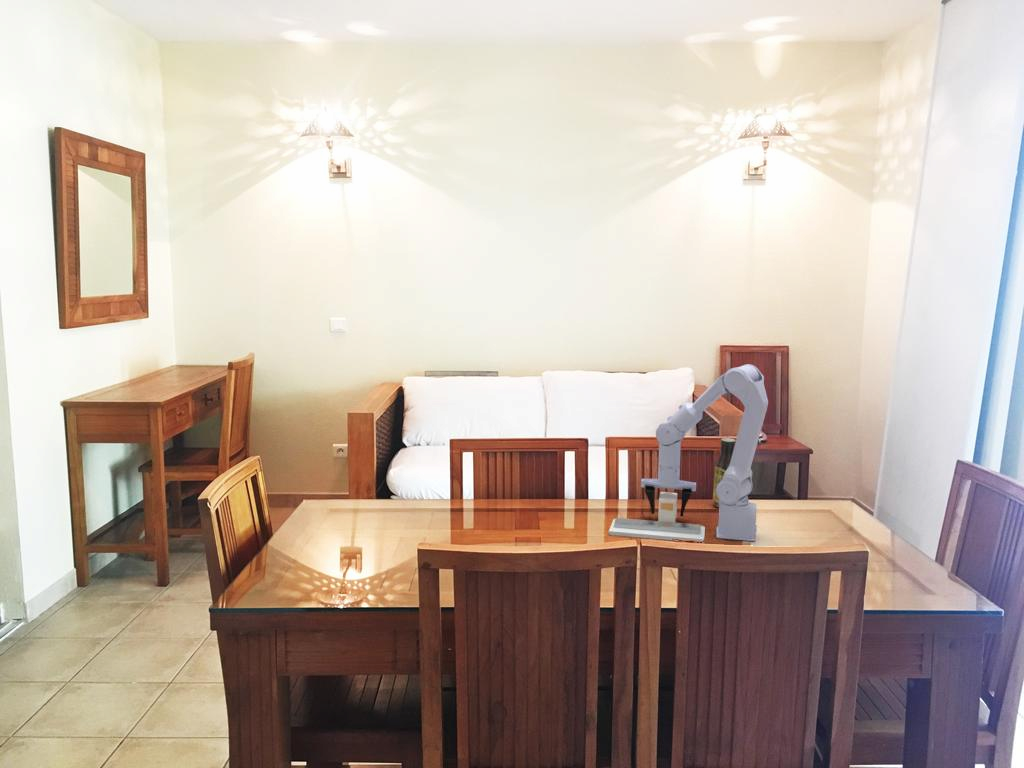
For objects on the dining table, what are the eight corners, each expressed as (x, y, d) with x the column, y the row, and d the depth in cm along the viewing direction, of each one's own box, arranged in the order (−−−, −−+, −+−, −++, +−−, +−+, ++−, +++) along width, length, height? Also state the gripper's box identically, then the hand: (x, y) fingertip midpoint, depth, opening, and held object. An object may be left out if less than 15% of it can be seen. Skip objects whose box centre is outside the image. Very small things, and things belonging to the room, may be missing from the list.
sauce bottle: (708, 504, 231) (710, 437, 227) (725, 501, 233) (728, 435, 230) (722, 511, 225) (725, 442, 222) (740, 508, 227) (743, 440, 224)
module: (676, 517, 219) (677, 493, 218) (675, 526, 212) (675, 500, 211) (659, 516, 220) (660, 491, 219) (658, 524, 213) (658, 499, 212)
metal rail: (700, 530, 206) (700, 524, 206) (700, 534, 203) (700, 529, 203) (615, 523, 212) (616, 517, 211) (614, 527, 208) (614, 521, 208)
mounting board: (704, 530, 209) (704, 526, 209) (703, 543, 200) (704, 539, 199) (613, 522, 215) (613, 518, 215) (608, 534, 206) (608, 531, 205)
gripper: (697, 463, 216) (695, 511, 218) (643, 460, 220) (641, 507, 222) (696, 470, 209) (694, 520, 211) (640, 466, 213) (639, 515, 215)
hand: (667, 514), depth 216 cm, fingers open, 7 cm apart
